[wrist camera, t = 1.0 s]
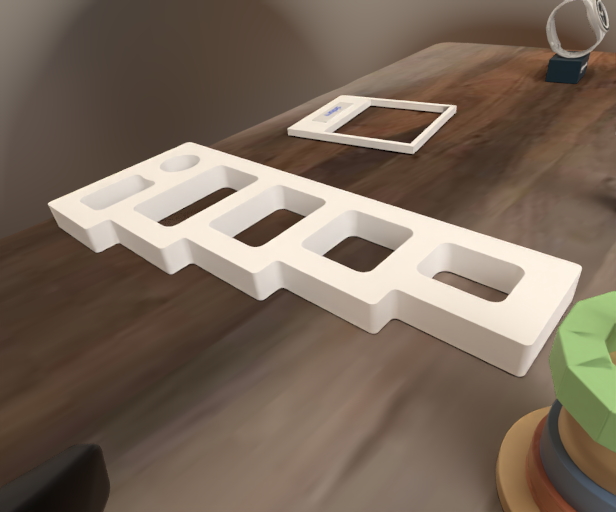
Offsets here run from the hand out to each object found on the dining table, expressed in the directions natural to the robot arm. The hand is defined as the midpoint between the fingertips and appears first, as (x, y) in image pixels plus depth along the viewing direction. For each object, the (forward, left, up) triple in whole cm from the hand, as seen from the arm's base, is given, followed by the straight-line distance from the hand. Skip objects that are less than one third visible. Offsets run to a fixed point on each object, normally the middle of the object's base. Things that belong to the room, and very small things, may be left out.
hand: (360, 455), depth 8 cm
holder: (+29, -1, -16) cm, 33 cm away
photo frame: (+53, -21, -16) cm, 60 cm away
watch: (+56, -54, -16) cm, 80 cm away
